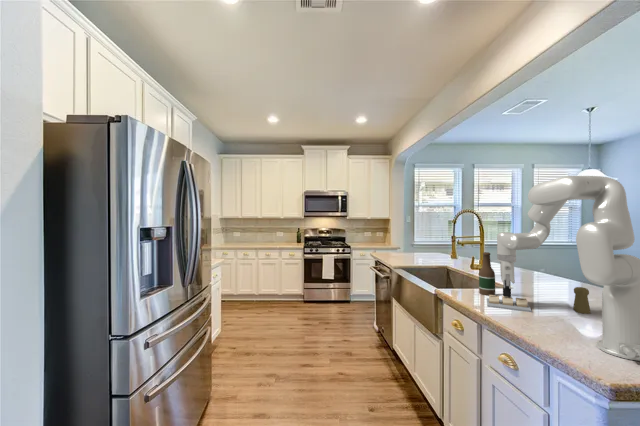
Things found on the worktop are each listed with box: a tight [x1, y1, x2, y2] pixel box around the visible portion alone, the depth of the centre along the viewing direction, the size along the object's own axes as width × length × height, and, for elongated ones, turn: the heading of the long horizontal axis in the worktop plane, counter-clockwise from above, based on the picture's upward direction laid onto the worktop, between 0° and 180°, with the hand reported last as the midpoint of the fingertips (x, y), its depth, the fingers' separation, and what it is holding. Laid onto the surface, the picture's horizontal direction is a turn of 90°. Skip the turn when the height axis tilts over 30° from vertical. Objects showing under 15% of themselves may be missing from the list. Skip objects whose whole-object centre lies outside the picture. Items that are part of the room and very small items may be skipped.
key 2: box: [501, 295, 514, 306], centre depth 136 cm, size 4×4×4 cm
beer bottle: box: [478, 252, 496, 297], centre depth 156 cm, size 8×8×24 cm
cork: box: [572, 286, 592, 315], centre depth 130 cm, size 6×6×11 cm
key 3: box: [488, 294, 500, 304], centre depth 139 cm, size 4×4×4 cm
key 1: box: [515, 297, 528, 307], centre depth 134 cm, size 4×4×4 cm
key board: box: [486, 297, 533, 313], centre depth 136 cm, size 13×17×2 cm
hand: (507, 296), depth 136 cm, fingers closed
